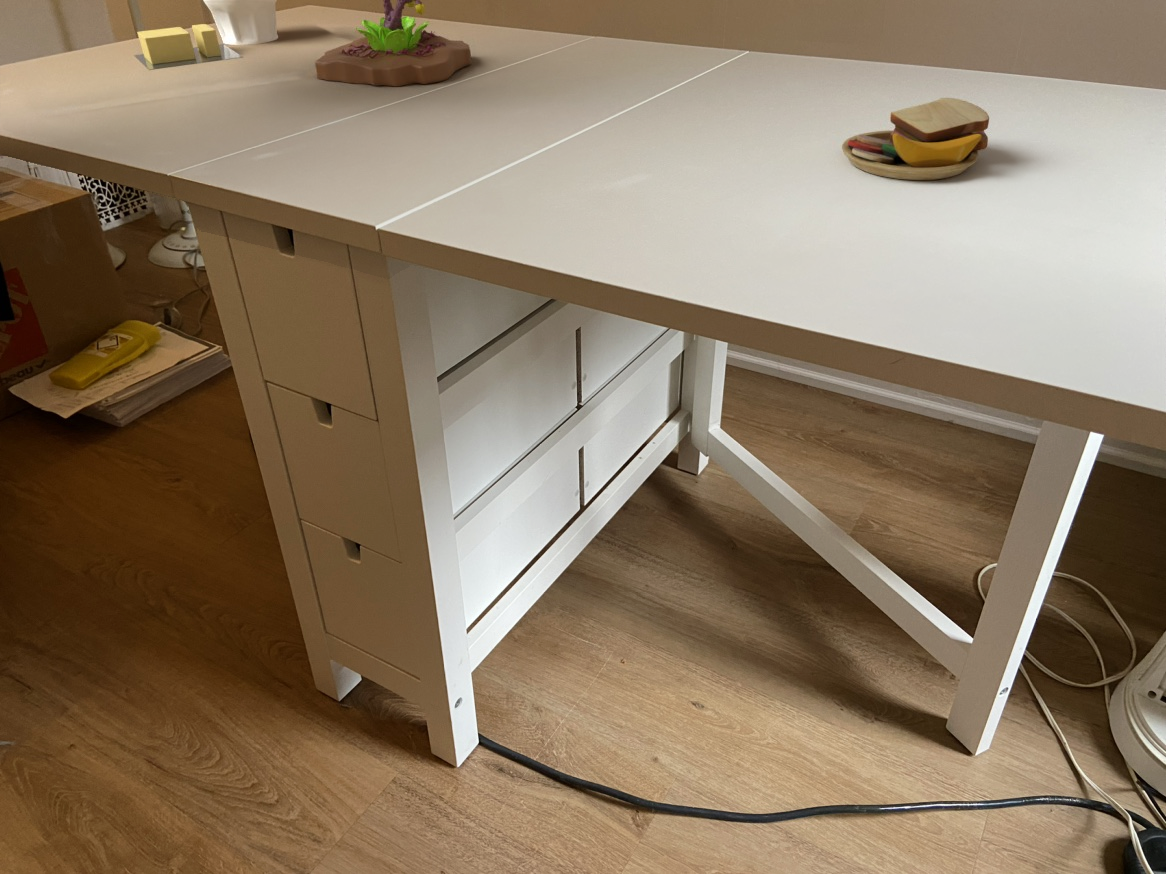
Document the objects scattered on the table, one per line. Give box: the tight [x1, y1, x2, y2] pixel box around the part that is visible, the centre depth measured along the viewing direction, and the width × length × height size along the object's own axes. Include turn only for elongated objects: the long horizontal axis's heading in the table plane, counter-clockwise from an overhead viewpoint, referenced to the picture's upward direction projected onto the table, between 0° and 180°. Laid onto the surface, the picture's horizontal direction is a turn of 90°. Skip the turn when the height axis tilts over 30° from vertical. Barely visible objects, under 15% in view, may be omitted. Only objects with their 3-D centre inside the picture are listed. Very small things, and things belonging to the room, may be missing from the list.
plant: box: [315, 0, 472, 87], centre depth 119 cm, size 20×20×11 cm
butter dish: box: [133, 43, 243, 71], centre depth 129 cm, size 13×12×1 cm
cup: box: [202, 0, 279, 46], centre depth 135 cm, size 12×12×11 cm
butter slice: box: [191, 23, 221, 57], centre depth 129 cm, size 2×6×4 cm, turn 32°
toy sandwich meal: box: [841, 97, 990, 181], centre depth 83 cm, size 12×14×5 cm
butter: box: [137, 26, 196, 65], centre depth 126 cm, size 6×6×4 cm
